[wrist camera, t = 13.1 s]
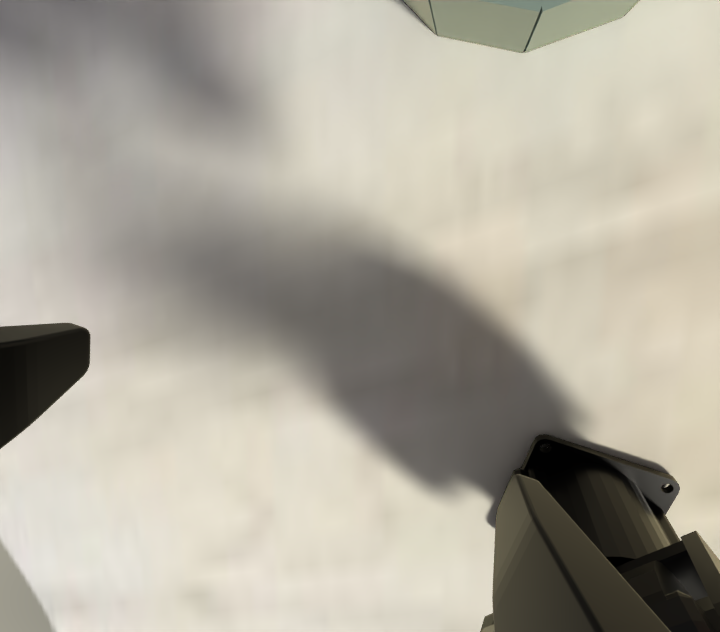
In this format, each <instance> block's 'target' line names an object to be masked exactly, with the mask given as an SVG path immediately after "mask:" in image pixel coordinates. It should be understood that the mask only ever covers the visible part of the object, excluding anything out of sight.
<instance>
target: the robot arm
mask: <svg viewBox="0 0 720 632" xmlns="http://www.w3.org/2000/svg"><path fill="white" fill-rule="evenodd" d="M89 364H90V333H89V331H88V330H87V329H86V328H84V327H81V326H78V325H75V324H72V323H55V324H38V325H21V326H4V327H0V449H1V448H2V447H3V446H5V445H6V444H7V443H9V442H10V441H11V440H12V439H14V438H15V437H16V436H18V435H19V434H20V433H21V432H22V431H24V430H25V429H26V428H27V427H29V426H30V425H31V424H32V423H33V422H34V421H35V420H36V419H38V418H39V417H40V416H41V415H42V414H43V413H44V412H45V411H46V410H47V409H48V408H49V407H50V406H51V405H53V404H54V403H55V402H56V401H57V400H58V399H59V398H60V397H61V396H62V395H63V394H64V393H65V392H66V391H68V390H69V389H70V388H71V387H72V386H73V385H74V384H75V383H76V382H77V381H78V380H79V379H80V378H81V377H83V375H84V374H85V373H86V372H87V370H88V368H89ZM544 443H545V444H549V445H550V446H549V447H548V448H541V447H540V446H541V445H542V444H544ZM664 484H670V485H669V486H668V487H665V488H662V487H661V486H662V485H664ZM679 490H680V487H679V484H678V483H677V481H676V480H675V479H674V478H673V476H671V475H669V474H666V473H663V472H660V471H657V470H654V469H651V468H647V467H644V466H641V465H638V464H635V463H632V462H629V461H626V460H623V459H620V458H617V457H614V456H611V455H608V454H605V453H602V452H598V451H595V450H592V449H589V448H586V447H583V446H580V445H577V444H574V443H571V442H568V441H565V440H562V439H559V438H556V437H553V436H550V435H545V434H543V435H539V436H537V437H536V438H535V439H534V441H533V443H532V445H531V448H530V450H529V452H528V455H527V457H526V459H525V461H524V464H523V466H522V468H521V469H520V468H519V469H517V470H515V471H514V472H513V474H512V476H511V478H510V481H509V483H508V485H507V488H506V490H505V492H504V495H503V497H502V499H501V502H500V504H499V506H498V510H497V515H496V528H495V550H494V572H493V613H492V614H490V615H487V616H485V618H484V621H483V625H482V628H481V631H480V632H720V560H719V559H718V558H717V556H716V555H715V554H714V553H713V551H712V550H711V549H710V548H709V546H708V545H707V544H706V543H705V541H704V540H703V539H702V538H701V536H700V535H699V534H698V533H697V531H694V532H692V533H689V534H687V535H684V536H682V537H681V539H682V541H680V539H679V538H678V536H677V534H676V533H675V531H674V529H673V528H672V526H671V524H670V522H669V521H668V519H667V517H666V516H665V515H666V513H667V511H668V510H669V508H670V506H671V505H672V503H673V501H674V500H675V498H676V496H677V495H678V493H679Z"/></svg>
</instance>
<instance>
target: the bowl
mask: <svg viewBox="0 0 720 632" xmlns="http://www.w3.org/2000/svg"><path fill="white" fill-rule="evenodd" d="M403 1H404V2H405V3H406V4H407V5H408V6H409V7H410V8H411V9H412V10H413V11H414V12H415V13H416V14H417V15H418V16H419V18H420V19H421V20H422V21H423V22H424V23H425V24H426V25H427V26H428V27H429V28H430V29H431V30H432V31H433V32H434V33H435V34H437V35H438V36H441V37H446V38H451V39H455V40H460V41H465V42H470V43H475V44H480V45H485V46H490V47H495V48H500V49H504V50H509V51H514V52H519V53H523V51H525V53H526V52H529V51H532V50H535V49H537V48H540V47H543V46H546V45H548V44H551V43H554V42H557V41H559V40H562V39H565V38H568V37H570V36H573V35H576V34H579V33H581V32H584V31H587V30H590V29H592V28H595V27H598V26H601V25H603V24H606V23H609V22H612V21H614V20H617V19H620V18H622V17H623V16H625V15H626V14H627V13H628V12H629V11H630V10H631V9H632V8H633V7H634V6H635V5H636V4H637V3H638V2H639V1H640V0H403Z"/></svg>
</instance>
